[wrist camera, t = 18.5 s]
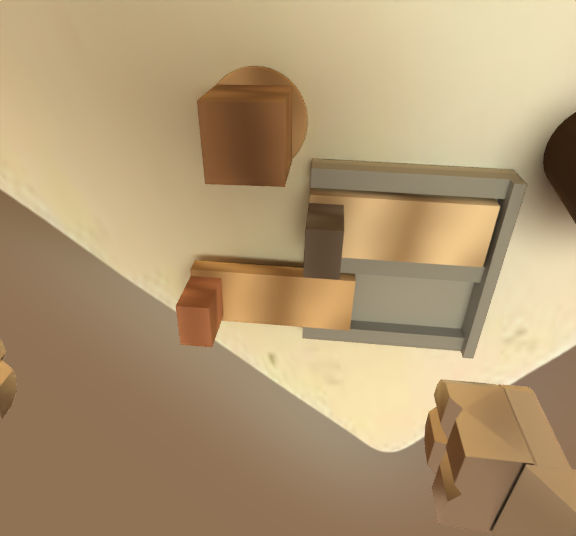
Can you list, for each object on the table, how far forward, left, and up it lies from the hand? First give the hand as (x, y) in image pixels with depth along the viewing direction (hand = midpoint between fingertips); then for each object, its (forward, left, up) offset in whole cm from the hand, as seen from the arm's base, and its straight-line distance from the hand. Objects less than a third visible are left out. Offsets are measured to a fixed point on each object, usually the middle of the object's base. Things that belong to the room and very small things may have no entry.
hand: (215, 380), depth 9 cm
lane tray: (+8, -12, -26) cm, 30 cm away
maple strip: (+7, -8, -25) cm, 28 cm away
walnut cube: (-3, -2, -26) cm, 26 cm away
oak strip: (-2, -15, -25) cm, 30 cm away
